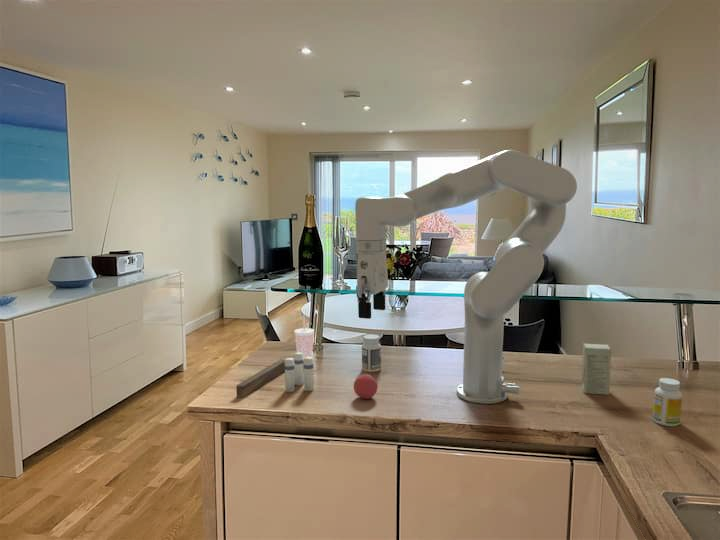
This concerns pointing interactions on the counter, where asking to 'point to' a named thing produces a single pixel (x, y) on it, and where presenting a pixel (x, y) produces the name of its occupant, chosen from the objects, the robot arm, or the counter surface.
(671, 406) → the supplement bottle
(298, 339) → the beverage cup
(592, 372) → the skincare box
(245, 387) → the back rail
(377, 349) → the pill bottle
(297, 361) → the pin rear right
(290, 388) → the pin rear left
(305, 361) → the pin front
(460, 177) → the robot arm
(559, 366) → the counter surface
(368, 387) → the ball
